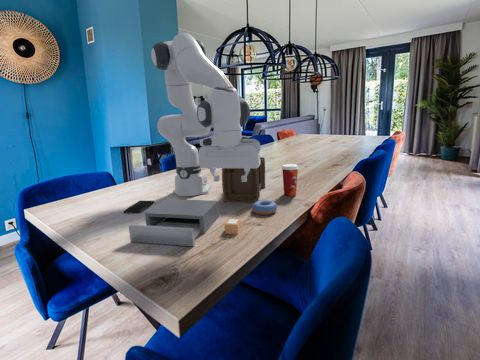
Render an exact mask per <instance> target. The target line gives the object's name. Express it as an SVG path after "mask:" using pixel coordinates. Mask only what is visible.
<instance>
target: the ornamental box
mask: <svg viewBox="0 0 480 360" xmlns="http://www.w3.org/2000/svg"><path fill="white" fill-rule="evenodd" d="M245 173H246V172H245V171H244V168H221V182H222V186H221V187H222V193H223V194H222V195H223V202H224V203H231V204H233V203H234V204H237V203H238V204H254V203H255V202H256V201H260V200H259V198H260V196H261V195H260V191H261V188H266V159H265V157H264V156H260V166H259V167H258V168H250V171H249V173H248V175H247V181H246V182H242V181H241V180H242V179H241V177H242V176H244V175H245Z"/></svg>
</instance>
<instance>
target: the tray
mask: <svg viewBox="0 0 480 360" xmlns="http://www.w3.org/2000/svg"><path fill="white" fill-rule="evenodd" d="M128 234H129V239H130V242H132V243H145V244H157V245H158V244H160V245H171V246H185V247H195V245H196V243H195V239H196V238H197V237H198V235H199V234H201V233H200V223H190V222H189V223H188V222H174V221H173V222H171V221H162V222H159V223H157V224H156V225H155V226H148V225H146V224H129V225H128Z"/></svg>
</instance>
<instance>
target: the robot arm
mask: <svg viewBox="0 0 480 360" xmlns="http://www.w3.org/2000/svg"><path fill="white" fill-rule="evenodd" d="M150 52H151V53H150V54H151V55H150V57H151V61H152V62H153V64H154V66H155V68H156V69H157V70H161V71H164V79H165V80H164V81H165V87H166V93H167V99H168V102H169V103H170V104H171V106H173V107H175V108H177V109H179V110H180V111H181V112H182V113H181V114H168V115H167V114H166V115H163V116H161V117H160V118H159V119H158V122H157V123H156V124H157V125H156V126H157V131H158V133H159V134H160V136H162V137H163V138H164V139H166V140H167V142H169V144H170V145H171V146H172V149H173V150H174V151H173V152H174V156H175V157H174V158H175V163H176V166H175V172H176V175H175V177H174V189H173V190H172V192H173V193H175V195H177V196H179V197H195V196H199V195H204V194H209V192H210V190H211V188H212V186H213V185H212V183H210V182H209V183H208V177H207V175H206V174H205V173H204V172H202V169H209V172H210V174H211V175H212V177H213V182H219V181H220V175H217V172H216V170H217V169H222V168H244V171H245V172H246V173H245V175H244V176H242V177H241V179H242V180H241V181H242V182H246V181H247V175H248V173H249V171H250V168H258V167H259V166H260V157H261V154H260V152H261V142H260V141H259V140H257V139H255V138H243V136H242V127H244V126H245V125H246V124H247V123H248V121H249V119H250V115H251V107H250V106H249V104H248V102H247V101H246V100H245V99H244V98H243V96H241V95H240V94H239V93H238V92H239V91H238V89H237V88H235V87H234V86H233V84H232V83H231V81H230V80H229V79H228V78H227V76H226V75H225V74H224V73H225V72H224V71H222V70H221V69H220V67H218V66H216V65H215V64H213V62H212V61H210V60H209V58H208V57H207V55H206V48H205V45H204V43H203V42H202V41H201V40H199V39H196V38H195V37H193V35H191V34H190V33H187V32H181V33H180V32H179V33H178V34H176V35H175V36H174V37H173V38H172V40H169V41H168V40H167V41H164V42H163V41H158V42H156V43H154V44H153V45H152V47H151V51H150ZM191 83H192V84H196V85H200V86H201V85H202V86H205V87H208V88H212V90H211V94H210V95H209V96H208V97H207V98H206V99H203V100H201V102H199V104H198V105H197V104H196V102H195V99H194V95H193V90H192V84H191ZM212 129H213V134H211V135H209V136H207V135H208V134H209V133H210V131H211V130H212ZM203 136H207V137H204V138H202V139H200V140H199V146H201V147H200V148H199V149H198V148H197V147H196V146H194V145H193V144H191V143H189V142H188V141H187V140H186V138H196V137H203Z"/></svg>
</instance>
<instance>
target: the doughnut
mask: <svg viewBox="0 0 480 360" xmlns="http://www.w3.org/2000/svg"><path fill="white" fill-rule="evenodd" d="M277 208H278V206H277V202H274V201H272V200H269V199H262V200H261V199H260V200H259V201H256V202H255V203H252V207H251V209H252V212H253V213H254V214H256V215H259V216H268V215H269V216H270V215H271V214H272V215H273V214H275V212H276V211H277Z"/></svg>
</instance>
